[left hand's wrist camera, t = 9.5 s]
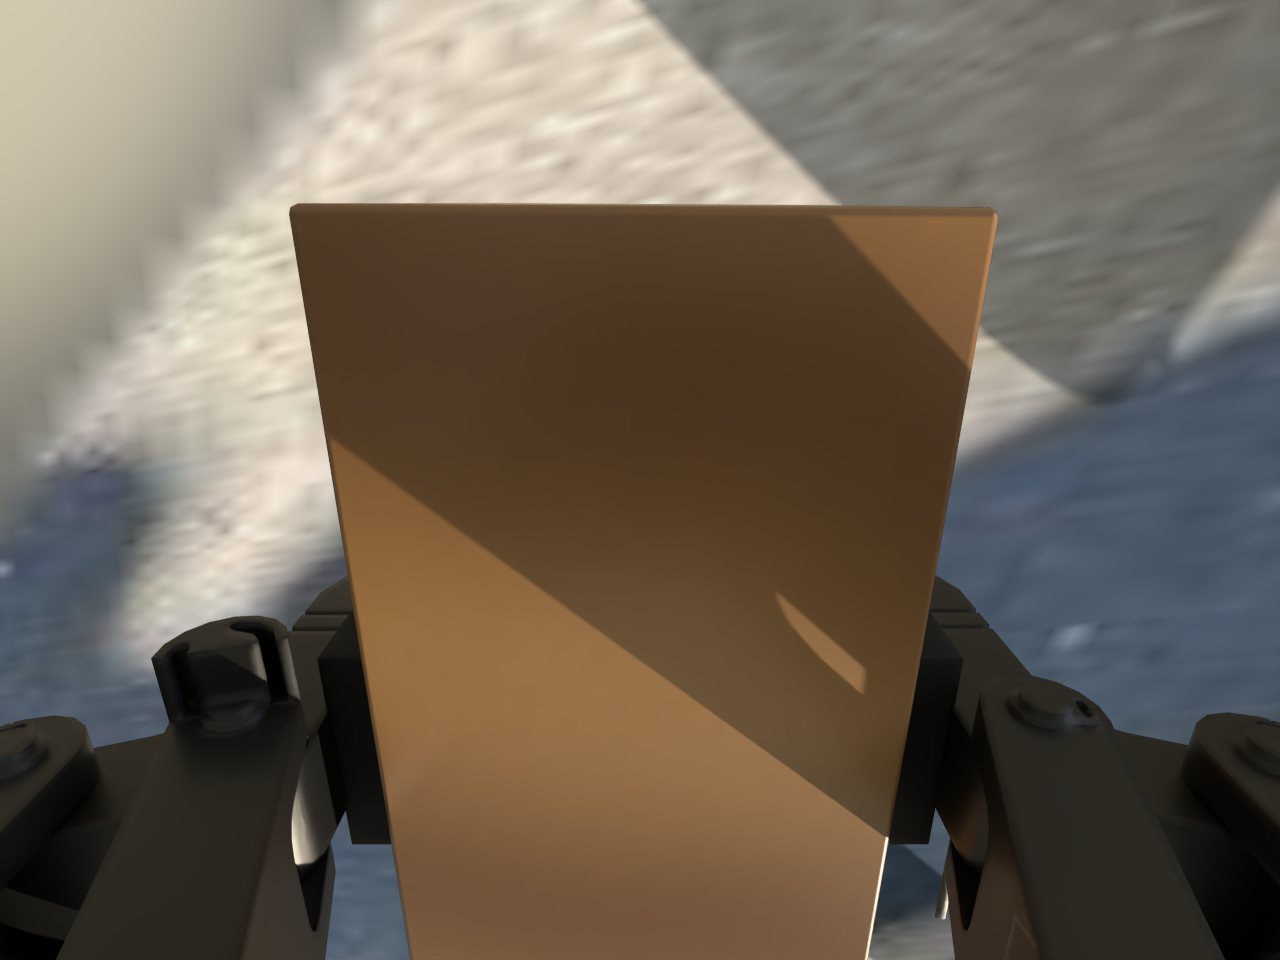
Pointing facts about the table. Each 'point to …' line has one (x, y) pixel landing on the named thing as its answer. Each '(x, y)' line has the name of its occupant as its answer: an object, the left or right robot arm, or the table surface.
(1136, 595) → the table surface
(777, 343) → the bar
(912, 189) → the table surface
